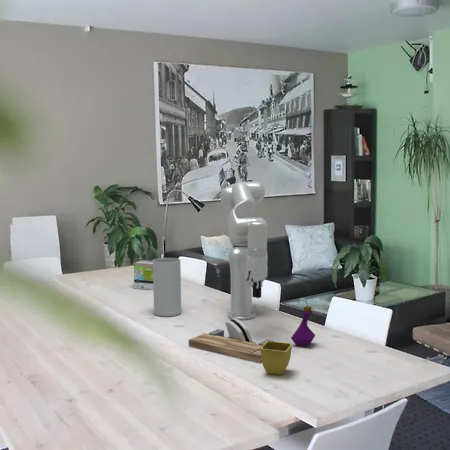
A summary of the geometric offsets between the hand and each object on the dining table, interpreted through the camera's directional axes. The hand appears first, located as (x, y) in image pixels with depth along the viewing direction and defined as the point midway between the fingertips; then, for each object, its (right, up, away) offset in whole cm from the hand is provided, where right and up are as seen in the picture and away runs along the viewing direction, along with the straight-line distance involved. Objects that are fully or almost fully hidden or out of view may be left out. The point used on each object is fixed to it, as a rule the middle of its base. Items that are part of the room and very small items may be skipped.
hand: (256, 297), depth 228 cm
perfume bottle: (+17, -17, -10) cm, 26 cm away
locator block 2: (+3, -18, -16) cm, 24 cm away
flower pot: (+5, -20, -38) cm, 43 cm away
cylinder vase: (-39, -12, +36) cm, 55 cm away
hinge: (-7, -17, -6) cm, 19 cm away
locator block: (-16, -16, -2) cm, 23 cm away
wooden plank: (-10, -18, -16) cm, 26 cm away
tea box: (-54, -6, +90) cm, 106 cm away
